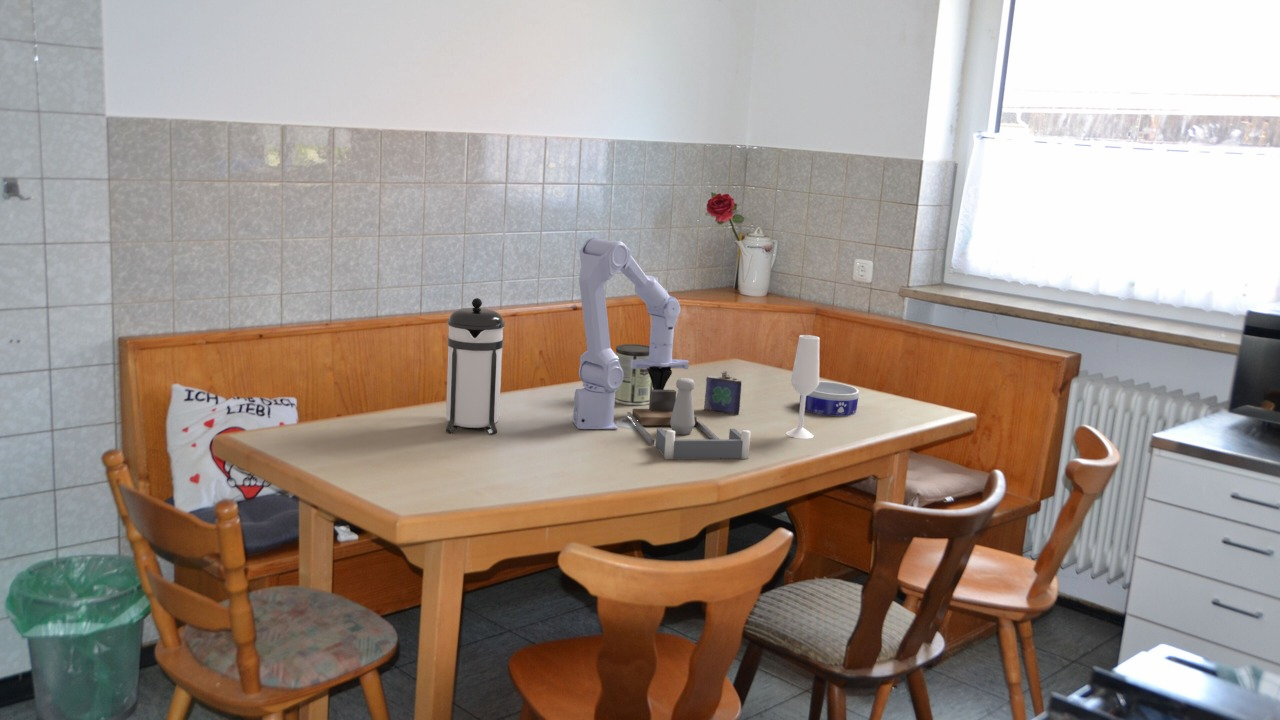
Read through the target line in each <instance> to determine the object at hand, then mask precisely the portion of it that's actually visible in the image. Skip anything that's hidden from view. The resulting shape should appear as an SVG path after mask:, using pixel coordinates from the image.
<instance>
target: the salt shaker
mask: <svg viewBox="0 0 1280 720" xmlns="http://www.w3.org/2000/svg"><path fill="white" fill-rule="evenodd" d="M675 384H676V385H675V386H676V388H677V389H678V390H677V392H676V401H675V405H674V408H673V412H672V416H671V420H670V425H669V426H670V427H671V430H673V431H675V435H684V436H685V435H686V436H687V435H691V433H692V431H693V428H695V426H696V425H695V420H694V415H695V413H694V404H693V393H692V391H693V390H694V389H695V385H696V382H695V381H694V379H693V378H688V377H681V378H678V379H676V383H675Z"/></svg>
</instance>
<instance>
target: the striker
mask: <svg viewBox="0 0 1280 720" xmlns="http://www.w3.org/2000/svg"><path fill="white" fill-rule="evenodd" d="M676 397H677V391H676V390H675V389H664V390H653V388H652V389H650V403H649V404H648V405H649V407H648V408H632V412H631V414H632V415H633V416H634V417H635V418H636V419H637V420H638V422H639V423H640V424H641V425H642V426H671V425H670V420H671V416H672V412H673V408H674V405H675V401H676ZM697 418H698V417H697V416H696V415H695V414H694V420H695V425H694V426H696V421H697Z"/></svg>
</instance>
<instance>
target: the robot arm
mask: <svg viewBox="0 0 1280 720" xmlns="http://www.w3.org/2000/svg"><path fill="white" fill-rule="evenodd" d="M579 259H580V270H579V277H578V279H579V280H578V281H579V282H578V283H579V290H580V298H581V299H580V300H581V307H582V309H581V310H582V317H583V325H584V332H585V343H586V348H587V350H586V351H584V352H583V353H582V354H581V355H580V357H579V361H580V362H579V363H580V365H579V369H578V377H579V379H580V381H581V382H582V387H583V388H576V389H575V391H574V400H573V414H572V417H573V418H572V421H573V423H574V425H575V426H576V428H577V429H578V430H618V426H617V424H616V423H615V422H614V416H615V403H616V402H615V391H618V388H619V387H620V385H621V384H622V381H623V377H624V374H623V370H622V368H621V366H620V363H619V358H618V357H617V355H616V352H614V350H613V349H612V347H611V339H610V338H611V337H610V327H609V320H608V319H609V318H608V311H607V301H606V291H605V284H606V282H608V281H610V280H611V279H612V278H613V277H614V276H615V275H616V274H617V273H619V272H621V273H622V274H623V275H624V276H625V277H626V278H628V280H629V281H630V282H631V283H633V284H634V292H635V294H636V295H637V297H639V298H640V299H641V301H642V302H643V303H644V304H645V305H646V312H647V313H648V314H649V315H650V316H651V318H650V319H651V320H650V323H651V324H650V336H649V346H650V347H649V359H636V360H631V366H630V367H631V368H632V369H636V368H647V371H648V373H649V375H650V378H651V381H652V385H653V388H652V390H665V388H666V384H667V382H668V381H669V379H670V378H671V376H672V374H673V370H672V369H684V370H689V367H690V366H689V365H690V361H689V360H687V359H674V358H673V348H674V347H673V346H674V336H675V335H674V334H675V331H674V330H675V326H676V324H677V322H678V321H677V320H678V317H679V315H680V313H681V311H682V310H681V309H682V307H681V305H680V302H679V301H678V298H677V297H675V296H672V295H670V294H669V292H668V290H667V288H664V287H663V286H662V285H661V284H660V283H659V282H658V281H659V278H658V277H657V276H653V275H649V274H648V275H646V274H645V272H644V270H642V268H641V266H640V265H639V264H638V262H637V261H636V260H635V259H634V257H633V256H632V250H631V249H630V248H629V247H628V246H627V245H626V244H625V243H624V242H622V241H612V240H608V239H602V238H598V237H590V238H588V239H587V240H586V241H585V242H584V244H583V245H582V247H581V248H580V249H579Z"/></svg>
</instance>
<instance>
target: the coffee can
mask: <svg viewBox="0 0 1280 720" xmlns="http://www.w3.org/2000/svg"><path fill="white" fill-rule="evenodd" d="M649 347H650V345H645V344H639V343H638V344H636V343H635V344H633V343H625V344H619V345H616V347H615V354H616V355H617V357H618V358H619V363H620V366H621V368H622V370H623V374H624V377H623V381H622V384H621V385H620V387H619V388H618V391H615V403H617V404H621V405H625V406H626V405H627V406H645V405H649V403H650V389H652V390H653V385H652V381H651V378H650V375H649V373H648V371H647V368H636V369H632V368H631V367H630V366H631V360H636V359H649Z"/></svg>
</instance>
